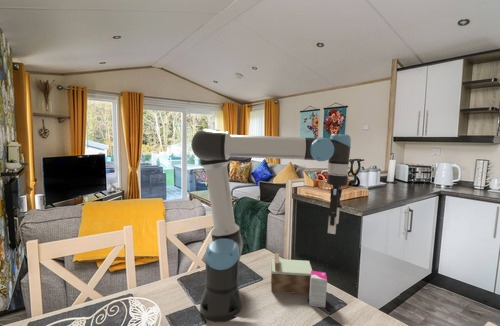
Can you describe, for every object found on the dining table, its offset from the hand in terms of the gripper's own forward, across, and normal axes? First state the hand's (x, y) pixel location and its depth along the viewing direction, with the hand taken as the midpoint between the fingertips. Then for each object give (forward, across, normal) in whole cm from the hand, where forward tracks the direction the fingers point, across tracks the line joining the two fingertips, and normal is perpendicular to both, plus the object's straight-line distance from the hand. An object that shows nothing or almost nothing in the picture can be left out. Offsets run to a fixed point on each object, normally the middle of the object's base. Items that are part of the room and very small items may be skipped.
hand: (333, 228), depth 102 cm
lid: (+19, -3, +15) cm, 24 cm away
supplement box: (+27, -9, +3) cm, 29 cm away
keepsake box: (+27, -3, +15) cm, 31 cm away
